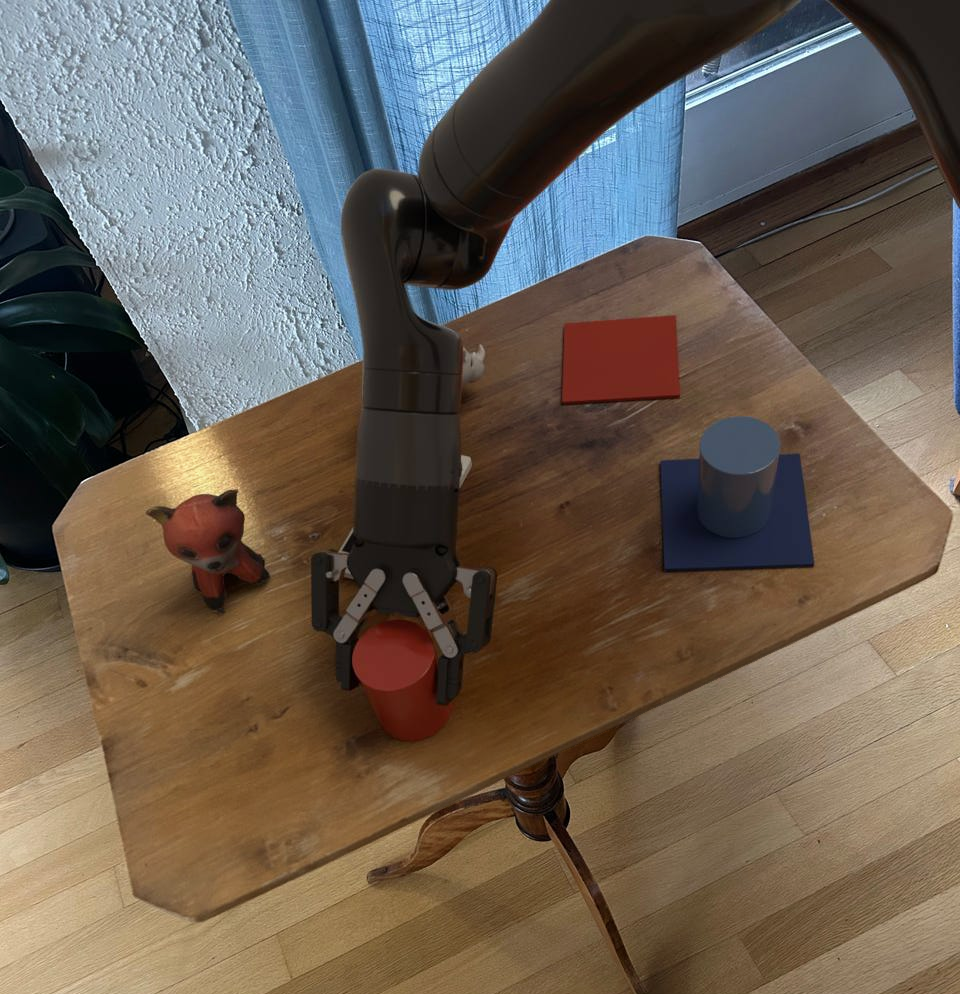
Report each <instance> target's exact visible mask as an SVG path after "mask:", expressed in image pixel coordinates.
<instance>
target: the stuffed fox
mask: <svg viewBox="0 0 960 994" xmlns="http://www.w3.org/2000/svg"><path fill="white" fill-rule="evenodd" d="M238 493H239V489H238V488H235V489H227V490H225V491H224V492H222V493H220V494H219V495H215V494H211V493H200V494H196V495H195V494H194V495H192V496H190V497H189V498H187V499H186V500H184V501H182V502H181V503H180V504H178V505H177V506H176V507H173V508H171V507H167V506H160V505H158V506H156V505H155V506H152V507H150V508H149V509H147V510H146V511H145V514H146V515H147V516H148V517H151V518H152V519H153V520H155V521H156V522H157V523H158V524H160V525H161V527H162V528H161V529H162V535H163V541H164V546H165V547H166V549H167V551H168V552H169V553H170V554H171V555H172V556H173V557H175V558H176V559H178V560H179V561H182V562H185V563H187V564H189V565H191V574H192V581H193V582H192V583H193V587H194V589H195V590H196V591H197V592H198V593H200V594H201V597H202V600H203V603H204V604H205V606H206V607H207V608H208V609H209V610H211V611H212V612H216V613H218V614H221V615H223V614H225V613H226V609H224V607H225V602H226V599H227V590H226V589H225V581H224V579H225V578H224V577H225V575H226V574H232V575H235V576H237V578H239V580H241V581H247V582H249V583H250V584H251V585H253V586H258V585H260V584H261V583H263V582H266V581H267V580H268V581H270V580H271V578H270V577H271V575H270V573H269V571H268V570H267V569H266V558H264V557H263V555H262V554H261V553H257V552H256V551H254V550H253V549H252V548H251V547H250V546H248V545H247V544H245V543H244V542H243V541H242V539H243V536H244V533H245V530H244V529H245V519H246V517H245V513H244V511H243V510H242V509H241V508H240V507H239V506H238V505H237V504H238Z"/></svg>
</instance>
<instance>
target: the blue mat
mask: <svg viewBox="0 0 960 994" xmlns="http://www.w3.org/2000/svg"><path fill="white" fill-rule="evenodd" d="M801 459H802V458H801V454H800V453H784V454H783V453H782V454H779V461H778V468H777V476H776V483H775V490H774V497H773V504H772V511H771V516H770V519H769V521H768V522H767V524H766V525H765V526H764V527H763V528H762V529H761V530H759V531H758V532H756V533H754V534H752V535H749V536H746V537H741V538H728V537H723V536H719V535H717V534H714V533H712V532H711V531H709V530H708V529H707V528H705V527H704V526H703V524H702V523H701V522H700V520H699V518H698V515H697V491H698V469H699V458H687V459H686V458H685V459H684V458H683V459H666V460H660V487H661V490H660V491H661V514H662V515H661V519H662V521H661V522H662V540H663V541H662V545H663V547H662V548H663V571H664V572H687V571H690V572H691V571H692V572H693V571H719V570H721V571H722V570H724V571H725V570H749V569H750V570H753V569H782V568H783V569H784V568H809V567H810V568H811V567H812V568H813V567H815V559H814V550H813V542H812V536H811V528H810V520H809V511H808V504H807V498H806V491H805V483H804V474H803V467H802V460H801Z"/></svg>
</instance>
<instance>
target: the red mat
mask: <svg viewBox="0 0 960 994" xmlns="http://www.w3.org/2000/svg"><path fill="white" fill-rule="evenodd" d="M677 329H678V328H677V315H676V314H673V315H659V316H646V317H645V316H643V317H630V318H620V319H619V318H617V319H604V320H603V319H602V320H591V321H577V322H576V321H575V322H565V323H564V329H563V358H562V360H563V361H562V387H561V388H562V389H561V405H564V406H565V405H581V404H596V403H610V402H611V403H614V402H630V401H647V400H663V399H664V400H665V399H679V398H681V388H680V369H679V351H678V349H679V347H678V334H677V333H678V331H677Z"/></svg>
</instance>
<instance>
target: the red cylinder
mask: <svg viewBox="0 0 960 994" xmlns="http://www.w3.org/2000/svg"><path fill="white" fill-rule="evenodd" d="M358 639H359V640H358V642H357V644H356V646H355V648H354V651H353V655H352V665H353V669H354V672H355V674H356V676H357V678H358V680H359V682H360V684H359V685H360V686H361V689H362V690H363V692H364V694H365V697H366V699H367V700H368V703H369V704H370V707H371V709H372V712H373V713H374V715H375V717H376V719H377V721H378V723H379V725H380V726H381V728H382V729H383V730H384V732H386V733H387V735H389V736H391V737H393V738H395V739H396V740H397V739H398V740H401V741H406V742H414V741H415V742H416V741H421V740H424V739H427V738H429V737H431V736H433V735H435V734H437V733H438V732H439V731H440V730H441V729H443V727H444V726H445V725H446V724H447V722H448V720H449V719H450V718H451V715H452V711H453V707H454V699H453V700H452V701H451V702H450V703H449V704H448V705H447V706H444V705H437V703H436V697H437V680H438V662H439V657H440V656H439V654H438V651H437V648H436V645H435V643H434V640H433V637H432V635H431V634H430V631H429V630H428V629H426V628H425V627H424V626H422V625H421V624H419V623H417V622H415V621H413V620H410V619H403V618H402V619H401V618H395V619H388V620H385V621H382V622H379V623H377V624H375V625H373V626H372V627H369V629H367V630H366V631H365V632H364V633H363V634H362V635H361V636H360V638H358Z"/></svg>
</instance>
